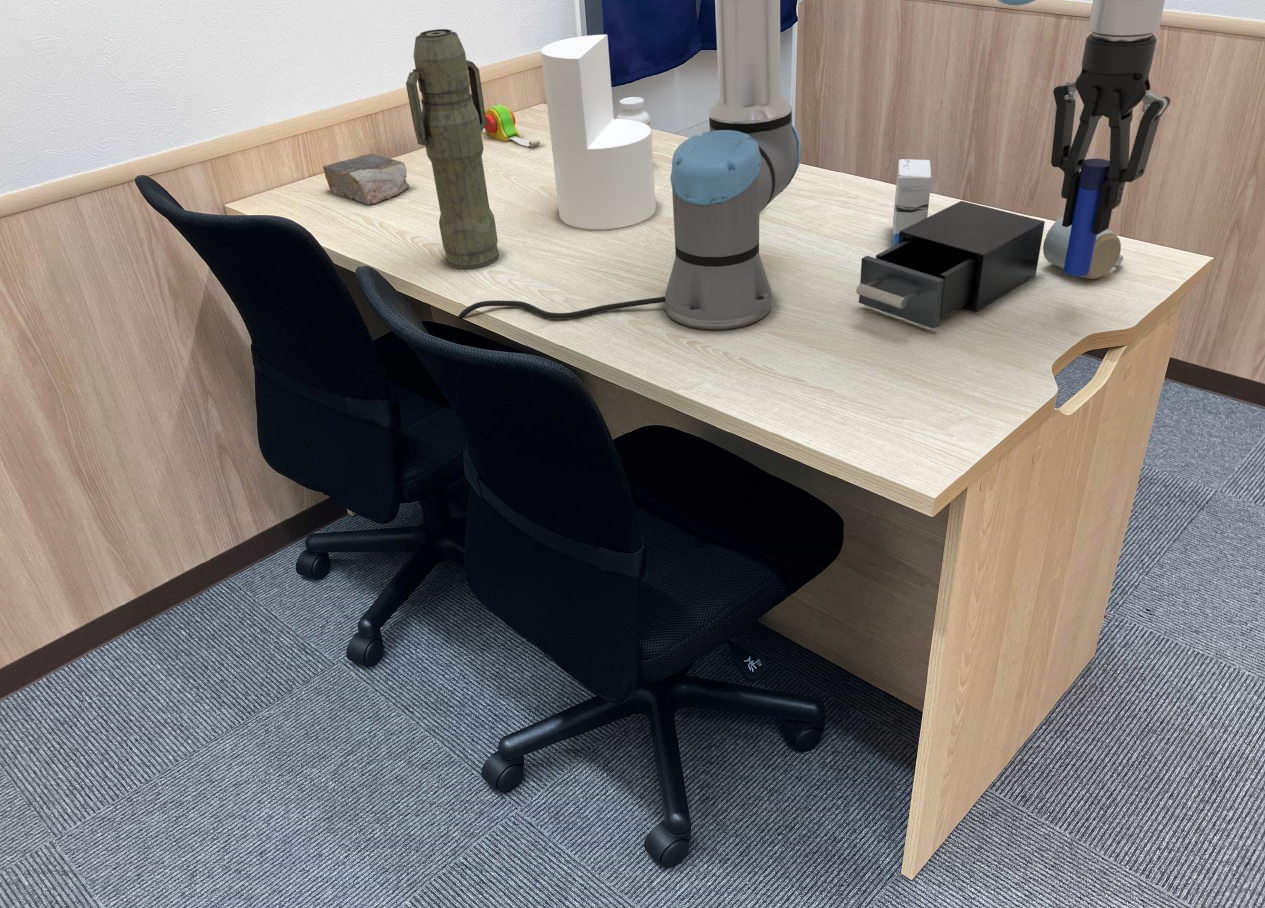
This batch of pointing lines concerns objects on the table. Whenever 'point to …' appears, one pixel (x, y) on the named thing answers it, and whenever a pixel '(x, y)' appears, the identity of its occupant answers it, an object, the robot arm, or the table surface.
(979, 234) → the drawer unit
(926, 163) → the ink box
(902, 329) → the table surface
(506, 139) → the toy measuring tape
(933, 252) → the drawer
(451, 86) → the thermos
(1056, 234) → the ceramic mug
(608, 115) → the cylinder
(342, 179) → the geological specimen
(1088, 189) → the marker
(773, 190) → the robot arm
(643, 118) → the supplement bottle
